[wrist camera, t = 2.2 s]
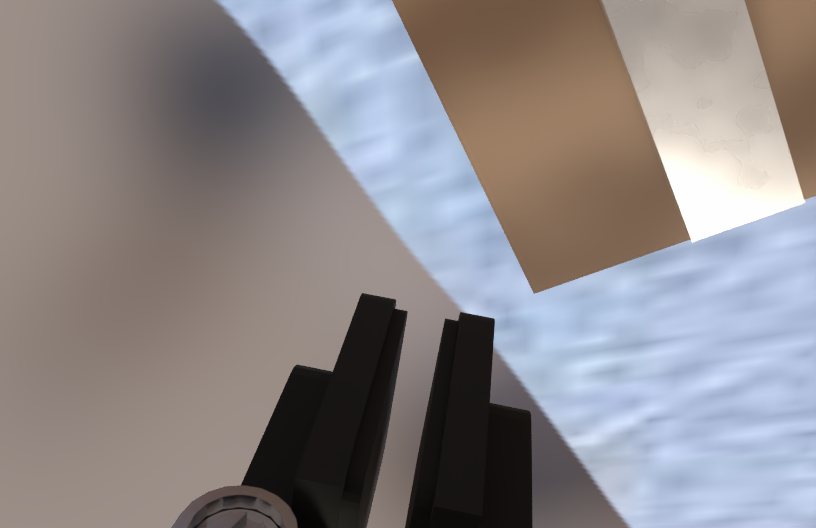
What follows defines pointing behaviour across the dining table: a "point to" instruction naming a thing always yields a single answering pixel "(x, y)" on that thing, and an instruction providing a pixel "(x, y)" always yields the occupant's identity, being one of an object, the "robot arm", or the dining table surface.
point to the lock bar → (706, 109)
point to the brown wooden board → (582, 122)
